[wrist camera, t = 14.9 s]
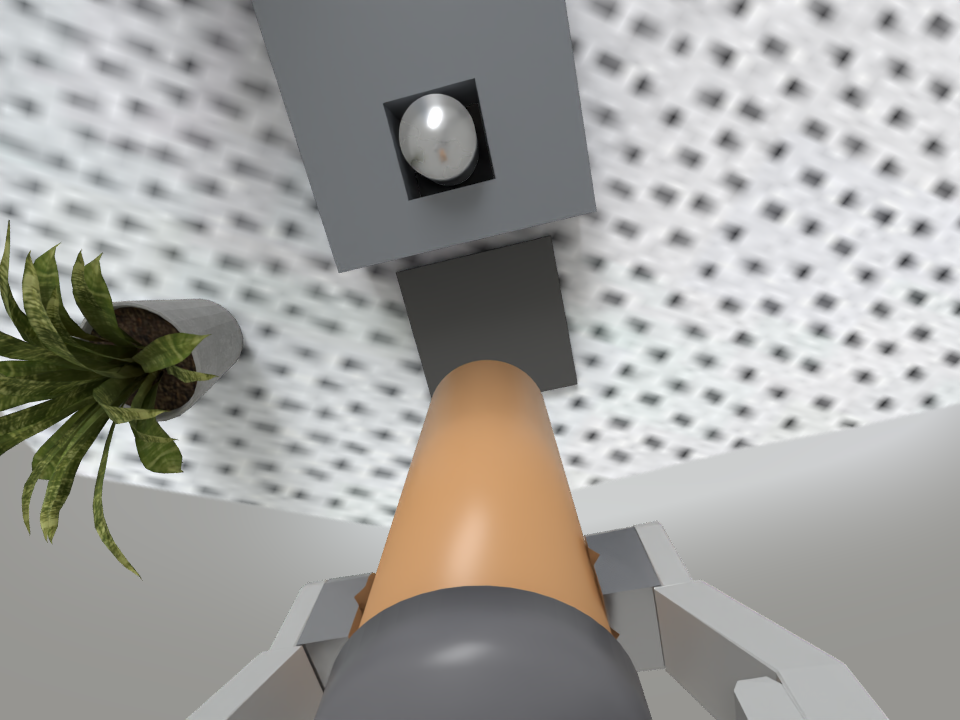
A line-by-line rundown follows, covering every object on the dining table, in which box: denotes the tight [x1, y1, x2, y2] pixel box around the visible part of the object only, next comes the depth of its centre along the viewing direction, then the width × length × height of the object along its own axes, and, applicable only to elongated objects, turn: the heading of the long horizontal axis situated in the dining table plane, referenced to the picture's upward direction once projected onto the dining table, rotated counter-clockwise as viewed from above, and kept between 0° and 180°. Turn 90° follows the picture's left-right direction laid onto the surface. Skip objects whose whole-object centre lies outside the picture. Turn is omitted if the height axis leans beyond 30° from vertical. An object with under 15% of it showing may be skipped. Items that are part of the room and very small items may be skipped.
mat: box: [396, 236, 577, 397], centre depth 30 cm, size 10×10×1 cm
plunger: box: [399, 94, 479, 186], centre depth 24 cm, size 4×4×6 cm
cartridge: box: [314, 360, 652, 720], centre depth 12 cm, size 5×5×12 cm
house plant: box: [0, 220, 243, 578], centre depth 24 cm, size 14×14×16 cm
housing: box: [251, 0, 597, 273], centre depth 23 cm, size 22×14×5 cm, turn 13°
